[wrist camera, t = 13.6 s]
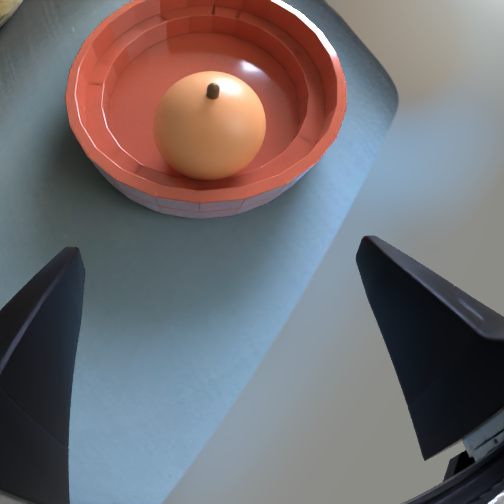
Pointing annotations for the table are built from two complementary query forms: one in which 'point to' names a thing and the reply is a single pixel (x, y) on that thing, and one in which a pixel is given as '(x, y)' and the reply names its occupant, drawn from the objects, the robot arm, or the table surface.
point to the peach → (209, 125)
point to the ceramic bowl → (8, 9)
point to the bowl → (194, 61)
